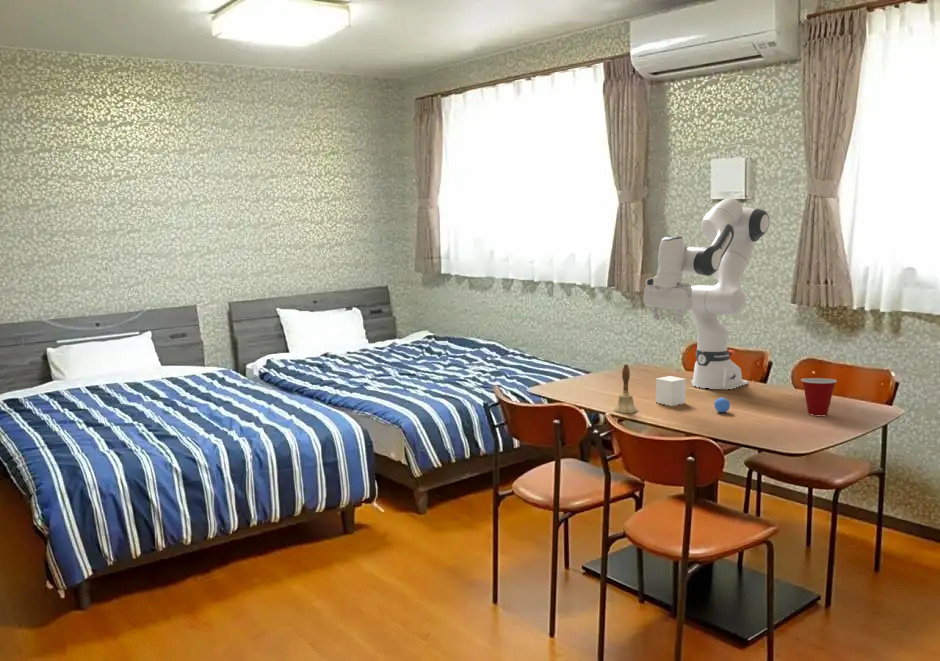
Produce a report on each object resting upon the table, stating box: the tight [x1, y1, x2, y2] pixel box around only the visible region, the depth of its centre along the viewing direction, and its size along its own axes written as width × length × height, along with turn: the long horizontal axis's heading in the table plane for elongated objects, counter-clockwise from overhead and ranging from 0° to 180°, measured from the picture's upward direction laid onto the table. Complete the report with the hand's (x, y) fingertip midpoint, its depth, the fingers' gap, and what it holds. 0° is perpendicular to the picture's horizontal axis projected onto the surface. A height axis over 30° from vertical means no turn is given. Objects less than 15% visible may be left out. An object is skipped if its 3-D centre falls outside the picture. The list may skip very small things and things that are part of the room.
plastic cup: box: [800, 377, 838, 416], centre depth 270 cm, size 11×11×12 cm
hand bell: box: [613, 363, 639, 414], centre depth 280 cm, size 8×8×16 cm
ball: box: [714, 397, 731, 414], centre depth 276 cm, size 5×5×5 cm
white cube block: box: [655, 375, 687, 407], centre depth 290 cm, size 7×7×9 cm
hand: (666, 321), depth 290 cm, fingers open, 8 cm apart
